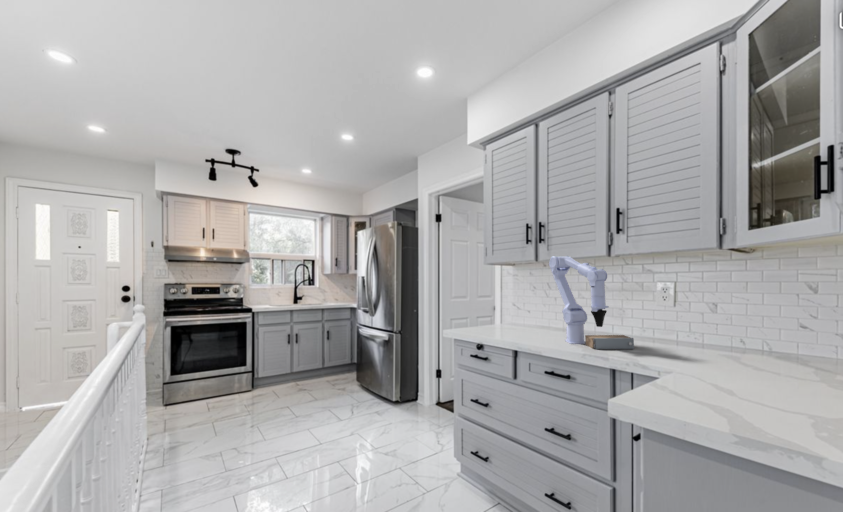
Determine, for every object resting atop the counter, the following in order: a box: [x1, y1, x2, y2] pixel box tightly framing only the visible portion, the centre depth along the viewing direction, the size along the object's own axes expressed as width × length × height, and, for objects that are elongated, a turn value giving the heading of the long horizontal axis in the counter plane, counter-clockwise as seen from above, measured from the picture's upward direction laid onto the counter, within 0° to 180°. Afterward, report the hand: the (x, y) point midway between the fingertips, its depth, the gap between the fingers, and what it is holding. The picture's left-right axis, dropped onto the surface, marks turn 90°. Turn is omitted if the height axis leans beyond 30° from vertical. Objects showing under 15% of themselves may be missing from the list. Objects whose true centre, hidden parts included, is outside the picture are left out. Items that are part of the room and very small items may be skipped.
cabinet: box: [584, 334, 632, 350], centre depth 165 cm, size 9×17×4 cm, turn 85°
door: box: [593, 337, 635, 350], centre depth 159 cm, size 2×17×4 cm, turn 85°
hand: (599, 326), depth 163 cm, fingers closed
